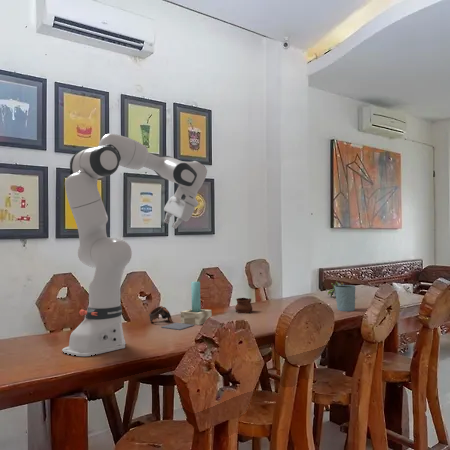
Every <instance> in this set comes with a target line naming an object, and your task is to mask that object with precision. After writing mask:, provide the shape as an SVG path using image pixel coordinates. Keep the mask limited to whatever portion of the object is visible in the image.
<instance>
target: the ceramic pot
mask: <svg viewBox="0 0 450 450" xmlns="http://www.w3.org/2000/svg"><path fill="white" fill-rule="evenodd" d="M235 300H236V303H237V304H236V305H235V307H234V308H235V312H236V313H237V312H238V314H250V313H249V312H251V313H252V312H253V305H252V303H251V302H252V298H247V297H238V298H236V299H235Z"/></svg>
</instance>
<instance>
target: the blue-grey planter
mask: <svg viewBox="0 0 450 450" xmlns="http://www.w3.org/2000/svg"><path fill="white" fill-rule="evenodd" d="M335 293H336V296H335V301H336V308H337V309H338V310H337V311H339V310H340V312H354V311H356V285H352V284H349V285H348V284H345V285H338V286H335Z"/></svg>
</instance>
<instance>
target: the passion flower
mask: <svg viewBox="0 0 450 450" xmlns="http://www.w3.org/2000/svg"><path fill="white" fill-rule="evenodd" d="M338 285H346V284H345V283H344V282H338V281H335V283H331V286H332V289H329V288H326V289H325V292H326V293H327V295H328V296H329V295H330V297H333V296H334V297H335V298H336V292H335V286H338ZM327 291H328V292H327ZM332 295H333V296H332ZM334 297H333V298H334Z"/></svg>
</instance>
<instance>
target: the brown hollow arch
mask: <svg viewBox="0 0 450 450" xmlns="http://www.w3.org/2000/svg"><path fill="white" fill-rule="evenodd" d="M148 317H149V321H150V323H153V321H154V320H156V319H158V320H159V319H160V317H161V319H163V320H165V319H167V322H168V321H169V324H172V322H173V318H172V316H171V313H170V311H169V310H168V309H167V307H165V306H162V305H159V306H157V307H155V308H154V309H152V310H151V311H150V312H149V314H148Z"/></svg>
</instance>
